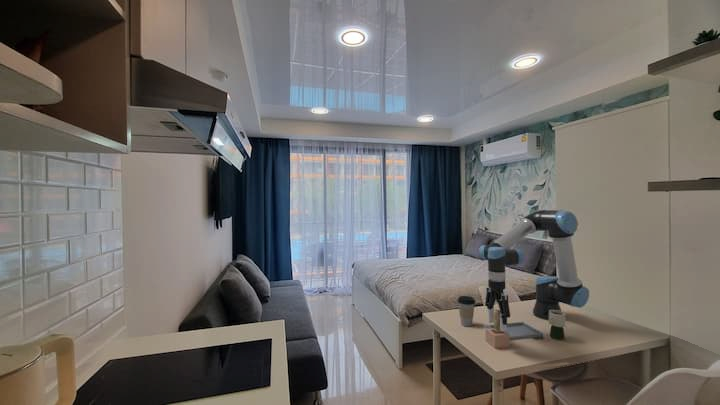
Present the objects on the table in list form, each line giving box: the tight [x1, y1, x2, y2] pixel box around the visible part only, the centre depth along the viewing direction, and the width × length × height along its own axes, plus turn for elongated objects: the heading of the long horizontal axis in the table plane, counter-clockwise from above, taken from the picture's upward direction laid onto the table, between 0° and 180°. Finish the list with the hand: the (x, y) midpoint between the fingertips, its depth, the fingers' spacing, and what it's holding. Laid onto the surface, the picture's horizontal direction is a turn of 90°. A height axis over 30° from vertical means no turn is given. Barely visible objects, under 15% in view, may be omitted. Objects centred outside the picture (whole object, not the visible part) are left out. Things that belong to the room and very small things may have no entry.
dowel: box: [493, 309, 501, 334], centre depth 148 cm, size 3×3×16 cm
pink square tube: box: [485, 328, 511, 350], centre depth 148 cm, size 8×8×7 cm
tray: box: [485, 321, 544, 341], centre depth 161 cm, size 22×15×2 cm
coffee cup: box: [457, 295, 476, 328], centre depth 173 cm, size 9×9×15 cm
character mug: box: [548, 310, 566, 340], centre depth 155 cm, size 11×7×13 cm, turn 110°
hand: (497, 326), depth 148 cm, fingers open, 9 cm apart
